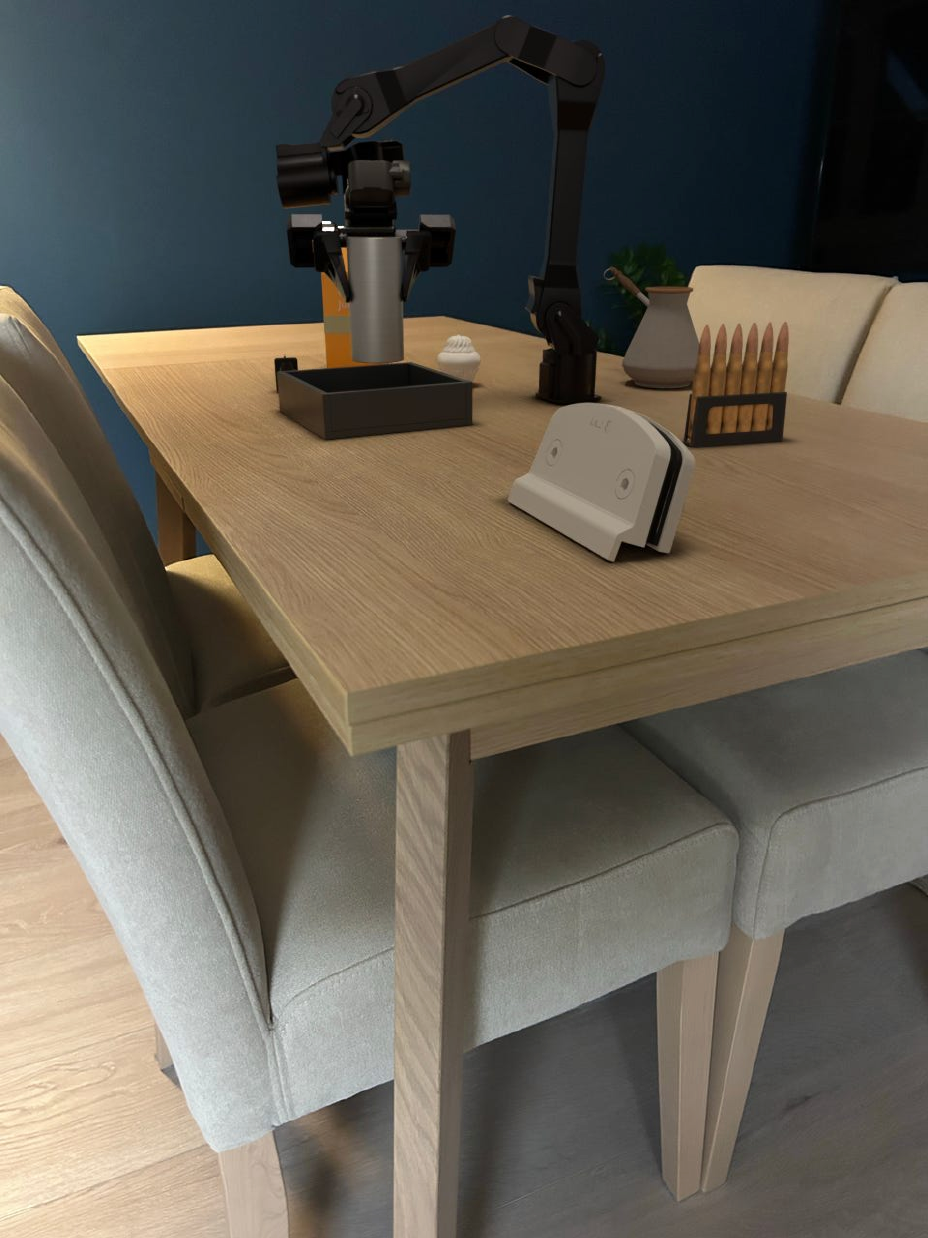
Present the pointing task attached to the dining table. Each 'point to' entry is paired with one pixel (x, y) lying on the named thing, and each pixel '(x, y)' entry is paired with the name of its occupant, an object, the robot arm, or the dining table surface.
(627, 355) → the coffee pot
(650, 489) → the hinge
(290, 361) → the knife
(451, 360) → the muffin
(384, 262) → the metal can
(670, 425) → the dining table surface
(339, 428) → the bin
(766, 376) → the ammunition clip
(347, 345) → the orange juice
